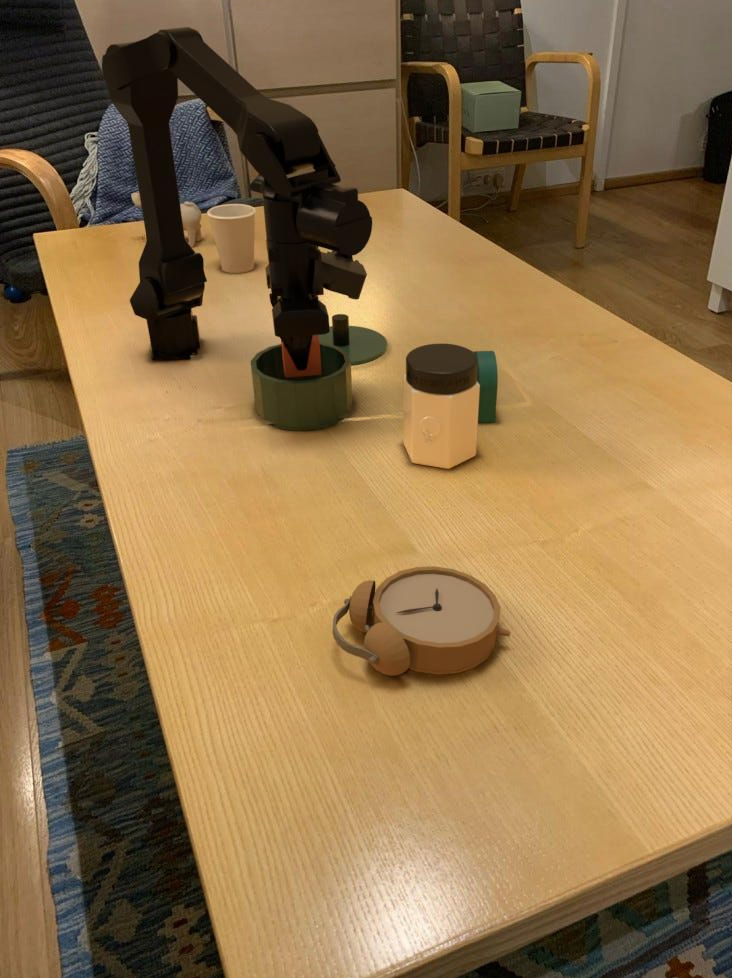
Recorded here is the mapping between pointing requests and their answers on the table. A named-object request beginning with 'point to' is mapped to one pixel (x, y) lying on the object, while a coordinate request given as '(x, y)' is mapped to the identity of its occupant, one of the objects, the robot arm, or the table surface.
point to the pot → (302, 390)
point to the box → (313, 361)
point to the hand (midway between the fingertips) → (300, 361)
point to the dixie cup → (234, 236)
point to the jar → (441, 405)
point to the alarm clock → (423, 621)
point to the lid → (354, 340)
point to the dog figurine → (184, 218)
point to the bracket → (487, 385)
